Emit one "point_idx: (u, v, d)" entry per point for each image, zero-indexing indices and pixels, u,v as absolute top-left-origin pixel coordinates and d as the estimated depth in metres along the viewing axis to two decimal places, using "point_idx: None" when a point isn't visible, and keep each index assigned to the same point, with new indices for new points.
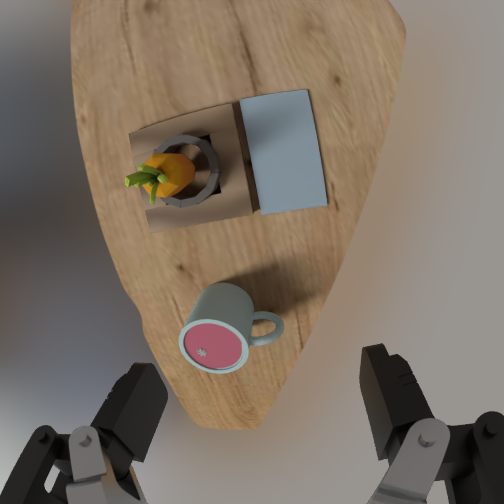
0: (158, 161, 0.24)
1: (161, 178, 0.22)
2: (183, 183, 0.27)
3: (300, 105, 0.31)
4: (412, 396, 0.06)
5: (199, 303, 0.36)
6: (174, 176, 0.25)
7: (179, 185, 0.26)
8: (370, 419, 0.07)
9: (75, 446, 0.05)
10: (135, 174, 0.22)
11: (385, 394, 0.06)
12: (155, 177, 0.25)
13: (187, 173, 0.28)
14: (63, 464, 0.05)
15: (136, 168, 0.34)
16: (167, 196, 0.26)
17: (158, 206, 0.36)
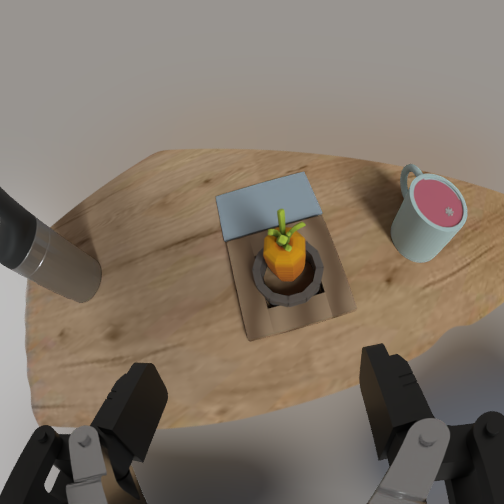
0: (269, 242, 0.29)
1: (280, 211, 0.26)
2: None
3: (228, 198, 0.46)
4: (412, 396, 0.06)
5: (411, 237, 0.32)
6: None
7: None
8: (370, 419, 0.07)
9: (75, 446, 0.05)
10: (277, 239, 0.26)
11: (385, 394, 0.06)
12: None
13: None
14: (63, 464, 0.05)
15: (287, 328, 0.34)
16: (303, 237, 0.29)
17: (327, 300, 0.35)
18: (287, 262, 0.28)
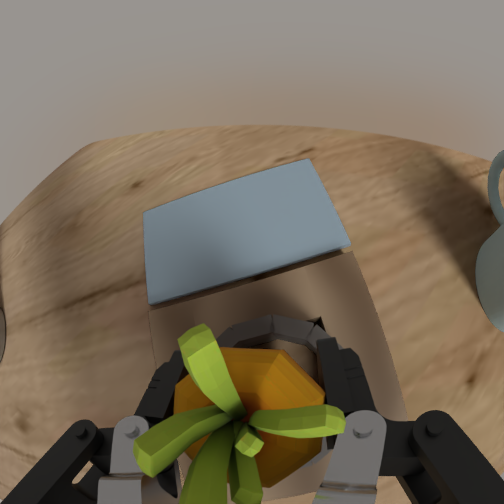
0: None
1: (188, 350, 0.04)
2: None
3: (163, 216, 0.23)
4: (357, 388, 0.07)
5: None
6: (242, 362, 0.07)
7: (280, 351, 0.07)
8: None
9: (122, 439, 0.06)
10: (181, 494, 0.03)
11: (327, 384, 0.07)
12: (238, 429, 0.06)
13: None
14: (104, 460, 0.05)
15: (268, 498, 0.12)
16: (321, 392, 0.07)
17: None
18: None
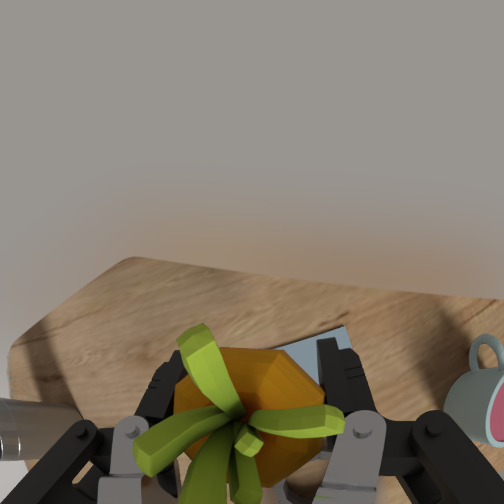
0: None
1: (187, 350, 0.04)
2: None
3: None
4: (357, 388, 0.07)
5: (467, 435, 0.16)
6: (242, 362, 0.07)
7: (279, 351, 0.07)
8: None
9: (122, 439, 0.06)
10: (180, 494, 0.03)
11: (327, 384, 0.07)
12: (238, 429, 0.06)
13: None
14: (104, 460, 0.05)
15: None
16: (320, 392, 0.07)
17: None
18: None
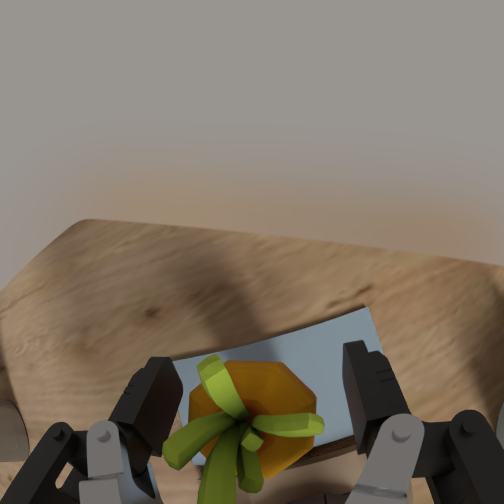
0: None
1: (205, 375, 0.05)
2: None
3: (195, 374, 0.19)
4: (389, 392, 0.06)
5: None
6: (246, 374, 0.08)
7: (277, 364, 0.09)
8: (350, 414, 0.08)
9: (94, 442, 0.05)
10: (200, 482, 0.04)
11: (361, 388, 0.06)
12: (243, 429, 0.07)
13: None
14: (79, 461, 0.05)
15: None
16: (311, 398, 0.08)
17: None
18: None
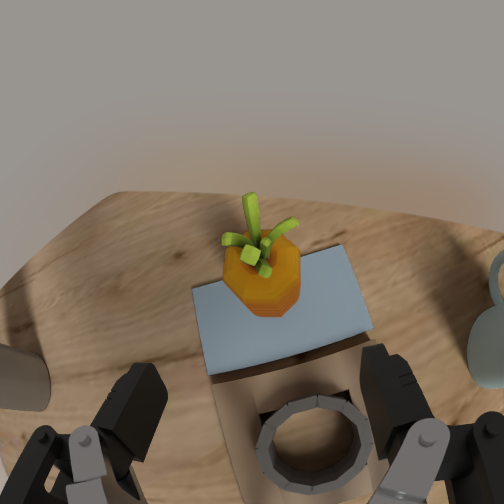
0: (233, 258, 0.15)
1: (247, 196, 0.13)
2: None
3: (213, 295, 0.27)
4: (412, 396, 0.06)
5: (502, 378, 0.13)
6: None
7: None
8: (370, 419, 0.07)
9: (75, 446, 0.05)
10: None
11: (385, 394, 0.06)
12: None
13: None
14: (63, 464, 0.05)
15: None
16: None
17: (368, 475, 0.16)
18: (266, 296, 0.15)
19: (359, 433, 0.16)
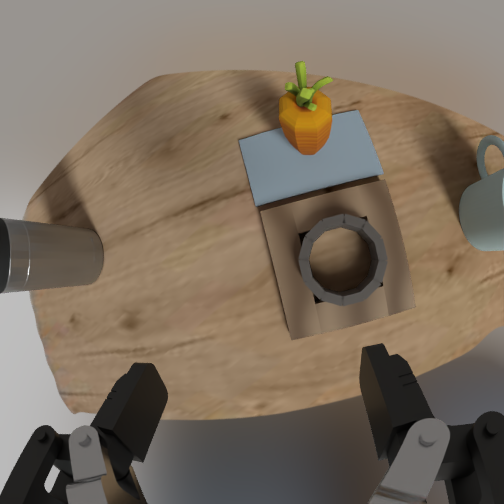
0: (286, 102, 0.20)
1: (299, 63, 0.16)
2: None
3: (257, 144, 0.32)
4: (412, 396, 0.06)
5: (487, 233, 0.21)
6: None
7: None
8: (370, 419, 0.07)
9: (75, 446, 0.05)
10: (298, 94, 0.17)
11: (385, 394, 0.06)
12: None
13: None
14: (63, 464, 0.05)
15: (337, 328, 0.28)
16: None
17: (384, 296, 0.27)
18: (311, 126, 0.20)
19: (376, 249, 0.26)
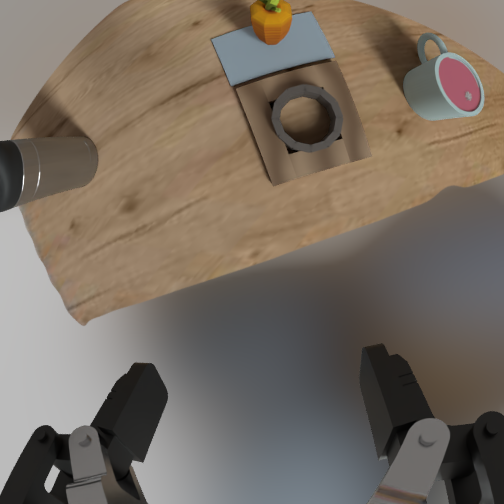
0: (257, 7, 0.20)
1: None
2: None
3: (227, 40, 0.30)
4: (412, 396, 0.06)
5: (427, 102, 0.27)
6: None
7: None
8: (370, 419, 0.07)
9: (75, 446, 0.05)
10: (267, 2, 0.17)
11: (385, 394, 0.06)
12: None
13: None
14: (63, 464, 0.05)
15: (309, 173, 0.36)
16: (289, 4, 0.20)
17: (345, 147, 0.34)
18: (276, 22, 0.21)
19: (333, 109, 0.31)
